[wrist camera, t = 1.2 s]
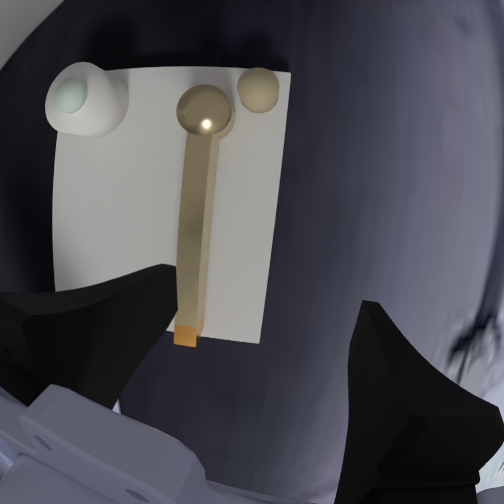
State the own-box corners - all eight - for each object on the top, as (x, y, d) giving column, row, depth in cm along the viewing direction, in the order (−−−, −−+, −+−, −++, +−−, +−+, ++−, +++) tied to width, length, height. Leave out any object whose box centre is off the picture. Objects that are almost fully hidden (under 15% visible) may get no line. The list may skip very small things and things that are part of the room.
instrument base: (259, 334, 26) (256, 378, 20) (65, 301, 26) (26, 328, 20) (289, 79, 21) (296, 47, 15) (76, 80, 22) (33, 61, 16)
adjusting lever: (215, 328, 24) (208, 349, 21) (174, 322, 24) (162, 341, 21) (237, 98, 20) (232, 85, 17) (191, 96, 20) (179, 83, 17)
